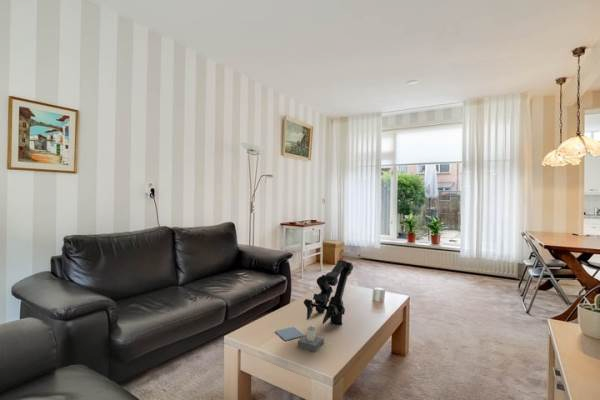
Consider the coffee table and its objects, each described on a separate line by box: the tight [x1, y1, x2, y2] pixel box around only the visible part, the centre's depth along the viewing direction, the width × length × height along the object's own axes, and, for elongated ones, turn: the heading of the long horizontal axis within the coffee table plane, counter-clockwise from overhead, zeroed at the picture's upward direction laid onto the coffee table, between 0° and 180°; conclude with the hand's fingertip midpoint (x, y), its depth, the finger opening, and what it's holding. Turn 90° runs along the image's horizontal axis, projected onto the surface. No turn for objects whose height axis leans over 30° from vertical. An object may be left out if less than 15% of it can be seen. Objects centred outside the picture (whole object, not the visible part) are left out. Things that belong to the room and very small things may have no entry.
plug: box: [306, 325, 316, 342], centre depth 154 cm, size 3×3×9 cm
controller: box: [313, 301, 326, 314], centre depth 198 cm, size 4×12×10 cm, turn 142°
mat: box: [274, 326, 305, 342], centre depth 166 cm, size 12×12×1 cm
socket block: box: [297, 333, 325, 353], centre depth 154 cm, size 10×10×3 cm
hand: (315, 321), depth 158 cm, fingers open, 9 cm apart
